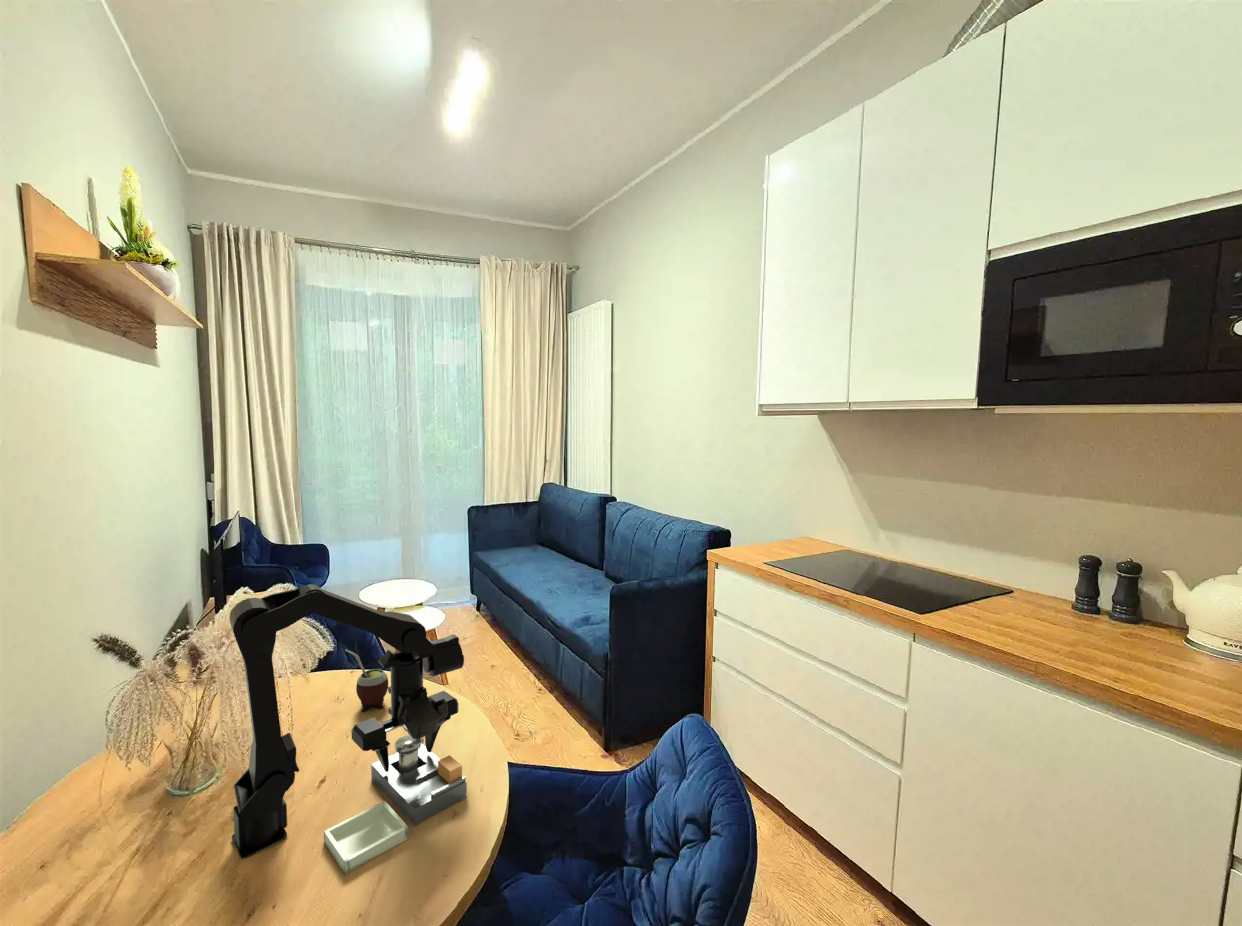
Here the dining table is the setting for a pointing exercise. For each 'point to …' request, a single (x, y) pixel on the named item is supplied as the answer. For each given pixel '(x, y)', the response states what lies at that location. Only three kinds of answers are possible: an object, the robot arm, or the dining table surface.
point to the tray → (365, 836)
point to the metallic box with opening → (418, 786)
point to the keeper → (449, 769)
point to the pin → (407, 753)
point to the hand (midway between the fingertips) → (408, 761)
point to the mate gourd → (371, 686)
